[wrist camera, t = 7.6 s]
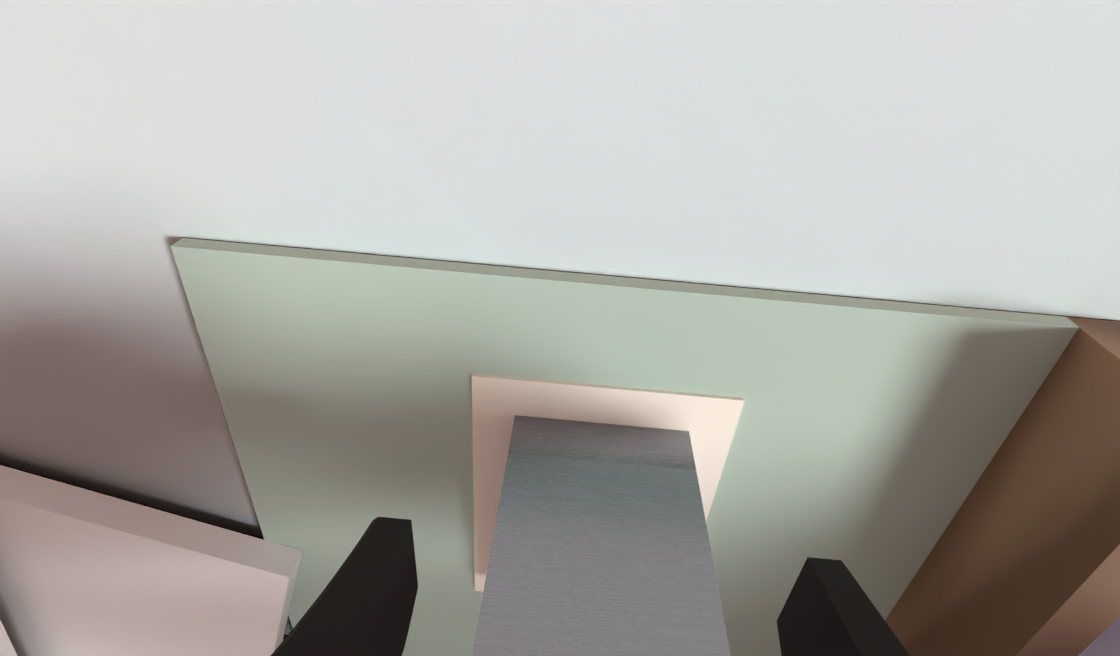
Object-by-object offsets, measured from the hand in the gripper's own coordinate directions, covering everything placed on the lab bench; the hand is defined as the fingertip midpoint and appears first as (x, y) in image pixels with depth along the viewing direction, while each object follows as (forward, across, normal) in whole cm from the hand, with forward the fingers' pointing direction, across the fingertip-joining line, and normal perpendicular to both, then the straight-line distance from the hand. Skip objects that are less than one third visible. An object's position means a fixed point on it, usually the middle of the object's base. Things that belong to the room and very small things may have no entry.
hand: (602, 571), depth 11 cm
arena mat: (+4, 0, +3) cm, 5 cm away
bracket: (+3, 0, +2) cm, 4 cm away
